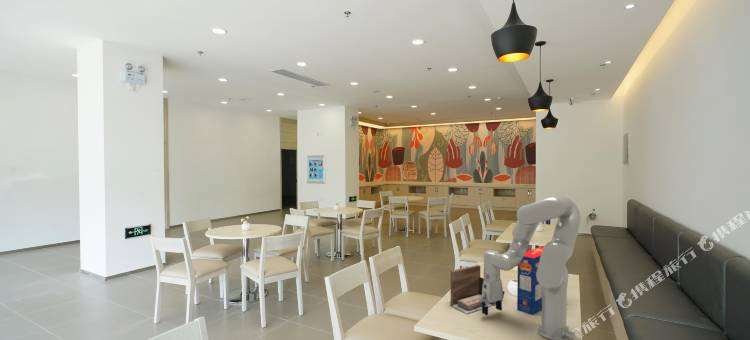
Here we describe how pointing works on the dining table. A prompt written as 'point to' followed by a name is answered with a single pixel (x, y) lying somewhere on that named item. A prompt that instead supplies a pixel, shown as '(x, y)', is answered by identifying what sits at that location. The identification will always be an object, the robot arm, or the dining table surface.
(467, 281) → the shelf panel
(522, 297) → the pasta box
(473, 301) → the packaged product
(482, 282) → the bookend
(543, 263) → the robot arm
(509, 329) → the dining table surface
